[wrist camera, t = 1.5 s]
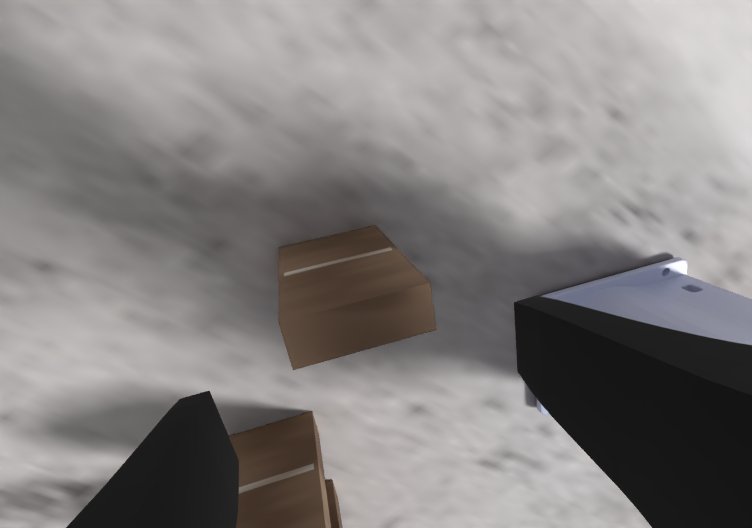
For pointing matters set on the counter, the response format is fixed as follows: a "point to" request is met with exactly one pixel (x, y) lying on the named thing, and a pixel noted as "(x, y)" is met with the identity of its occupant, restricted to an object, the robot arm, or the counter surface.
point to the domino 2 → (333, 505)
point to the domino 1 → (281, 475)
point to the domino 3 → (349, 296)
